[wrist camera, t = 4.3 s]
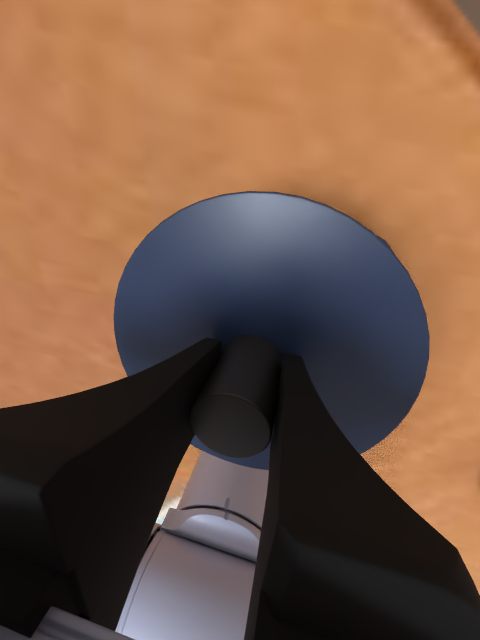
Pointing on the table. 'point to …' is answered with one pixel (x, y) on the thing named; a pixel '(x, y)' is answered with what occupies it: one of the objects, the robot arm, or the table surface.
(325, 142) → the table surface
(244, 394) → the lid
